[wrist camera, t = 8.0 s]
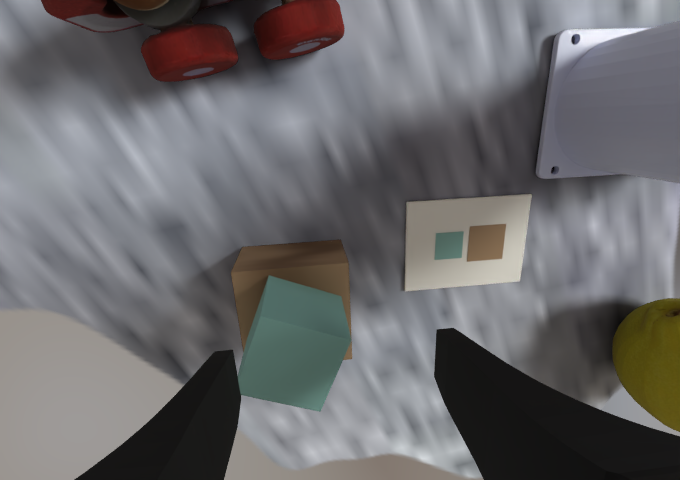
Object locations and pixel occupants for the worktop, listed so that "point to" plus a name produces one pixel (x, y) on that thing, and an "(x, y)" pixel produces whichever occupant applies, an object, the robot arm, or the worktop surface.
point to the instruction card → (465, 241)
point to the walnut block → (289, 275)
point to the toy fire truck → (205, 31)
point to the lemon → (651, 358)
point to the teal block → (294, 345)
